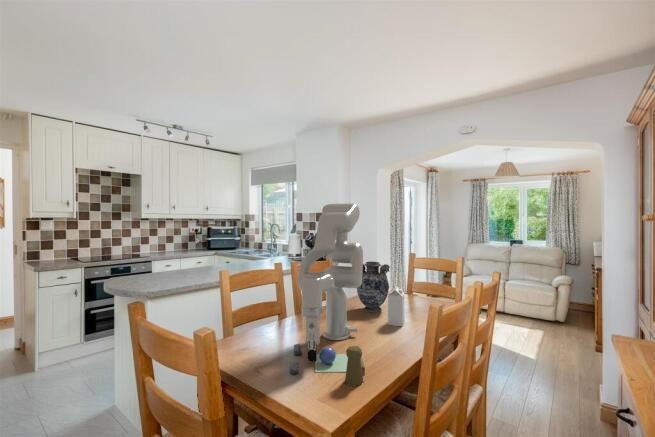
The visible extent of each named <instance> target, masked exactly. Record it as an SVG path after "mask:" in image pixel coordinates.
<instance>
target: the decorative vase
mask: <svg viewBox="0 0 655 437" xmlns="http://www.w3.org/2000/svg"><path fill="white" fill-rule="evenodd" d="M390 268H391V267H390V265H389V264H387V263H384V264H381V262H379V261H366V263H363V273H362V284H361V286H360V287H359V288H356V293H357V296H358V298H359V300H360V302H361V303H362V305H364V307H363V311H364V312H366V311H367V312H366V313H371V312H372V314H373V313H374V314H376V313H375V312H378V313H380V312H382V311H383V309H382V308H381V307H380V306H382V305H383V304H384V303H385V301H386V300H387V298H388V295H389V290H390V283H389V280H388V276H387V273H390Z"/></svg>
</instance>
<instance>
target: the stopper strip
mask: <svg viewBox="0 0 655 437" xmlns="http://www.w3.org/2000/svg"><path fill="white" fill-rule="evenodd" d="M357 346H358V347H360V345H357ZM360 359H361V366H362V374H363V376H365V374H366V372H365V371H366V368H365V367H366V366H365V363H364V359H363V357H361V358H360Z"/></svg>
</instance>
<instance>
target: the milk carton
mask: <svg viewBox="0 0 655 437" xmlns="http://www.w3.org/2000/svg"><path fill="white" fill-rule="evenodd" d="M404 324H405V293H404V291H403V289H402V288H400V287H398V285H395V287H394V289H392V290H391V291H390V292H388V295H387V325H388V326H395V327H404Z"/></svg>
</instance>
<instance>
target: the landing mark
mask: <svg viewBox="0 0 655 437" xmlns="http://www.w3.org/2000/svg"><path fill="white" fill-rule="evenodd" d="M319 354H320V353H316V361H314V364H315V365H314V366H315V367H314V373H346V369H347V361H348V357H347V355H346V353H336V358H335V360H334V362H333V363H331V364H324V363H322V361H321V360H320V357H319Z"/></svg>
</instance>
